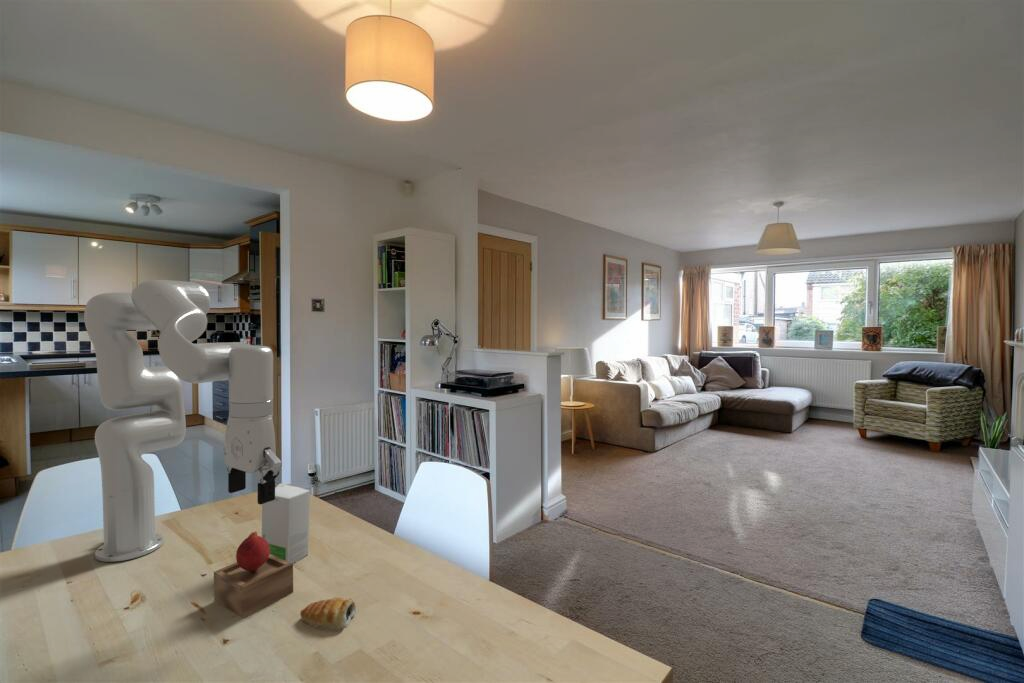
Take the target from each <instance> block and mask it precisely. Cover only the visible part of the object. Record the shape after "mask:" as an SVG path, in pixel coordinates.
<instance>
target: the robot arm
mask: <svg viewBox="0 0 1024 683" xmlns="http://www.w3.org/2000/svg"><path fill="white" fill-rule="evenodd" d="M211 304H212V300H211V296H210V294H209V291H208V290H207V289H206V288H205V287H204V286H203V285H201V284H199V283H197V282H193V281H184V280H183V281H182V280H171V279H169V280H168V279H147V280H145V281H142V282H140V283H139V284H137V285H136V286H135V287H134V288H133V289H132V291H131V292H106V293H100V294H97V295H94V296H92V297H91V298H90V299H88V301H87V302H86V305H85V309H84V313H83V314H84V315H83V320H84V326H85V329H86V332H87V334H88V337H89V339H90V341H91V344H92V346H93V348H94V351H95V359H96V361H95V362H96V372H97V380H98V388H99V389H98V390H99V391H98V392H99V396H100V397H99V399H100V401H101V404H102V405H103V407H104V408H105V409H107V410H111V411H126V410H134V409H140V408H147V407H153V408H154V411H149V412H147V411H146V412H143V413H133V414H127V415H121V416H117V417H114V418H110V419H107V420H105V421H103V422H102V423H100V425H98V427H97V428H96V430H95V433H94V444H95V447H96V452H97V454H98V459H99V464H100V471H101V472H100V473H101V490H102V491H101V493H102V522H103V524H102V525H103V526H102V527H103V544H102V545H101V546H99V547H98V548H97V549H96V550H95V552H94V554H95V557H94V558H95V559H96V560H98V561H99V562H106V563H114V562H123V561H129V560H132V559H136V558H140V557H143V556H145V555H148V554H150V553H152V552H154V551H156V550H157V549H159V548H160V547H161V546H163V544H164V536H163V535H162V534H160V533H157V532H156V517H155V516H156V514H155V513H156V511H155V510H156V509H155V508H156V506H155V476H154V475H155V474H154V470H153V468H152V466H151V465H150V464H149V463H148V462H146V461H145V460H144V459H143V457H142V455H144V454H149V453H152V452H157V451H161V450H166V449H170V448H173V447H176V446H179V445H180V444H181V443H182V442H184V439H185V437H186V433H187V425H186V424H187V423H186V412H185V400H184V399H185V398H184V389H183V383H182V381H183V382H185V383H190V384H204V383H205V384H206V383H212V382H220V381H228V419H227V422H226V428H225V438H224V447H223V453H224V456H223V457H224V460H223V461H224V463H225V465H226V466H227V467H226V472H227V473H228V474H227V475H228V476H227V477H228V478H227V481H228V482H227V483H228V484H227V485H228V487H227V490H228V493H230V494H234V493H237V492H241V491H243V490H245V489H246V487H247V486H246V485H247V482H246V481H247V480H246V476H247V474H246V473H248V474H253V473H256V475H257V478H258V480H259V482H258V483H257V504H258V505H262V504H264V503H267V502H270V501H273V500H274V499H275V488H276V481H277V480H278V476H279V475H280V470H281V466H282V464H283V463H282V461H281V459H280V458H279V457H278V456H277V455H276V454H277V453H276V452H277V451H276V433H275V425H274V420H273V417H274V352H273V350H272V348H271V347H269V346H267V345H260V344H259V345H258V344H257V345H254V344H253V345H252V344H249V343H247V342H241V341H237V342H236V341H233V342H224V341H223V342H204V343H200V342H199V343H193V342H195V340H197V339H198V338H200V337H201V336H202V335H203V334H204V332H205V331H206V329H207V325H208V318H207V314H208V313H209V312H210V309H211ZM155 330H156V331H157V330H158V331H159V332H160V334H159V337H158V340H157V341H158V343H157V344H158V352H159V356H160V358H161V361H162V362H163V364H164V365H165V366H163V365H161V366H160V365H159V366H145V363H144V353H143V351H144V350H143V348H142V346H141V345H140V343H139V342H138V341H137V340H136V339H135V337H134V336H132V335H131V333H129V332H128V331H155ZM265 471H267V472H266V473H265V474H264V472H265Z"/></svg>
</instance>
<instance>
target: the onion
mask: <svg viewBox="0 0 1024 683" xmlns="http://www.w3.org/2000/svg"><path fill="white" fill-rule="evenodd" d="M269 554H270V547H269V545H268V543H267V541H266V540H265V539H264V538H262V536H260V535H258V532H257V531H256V530H254V531H253V530H252V531H251V533H250V534H249V536H247V537H246V538H244V540H243V541H242V542H241V544H239V546H238V547H237V550H236V554H235V559H236V562H237V564H238V565H239V566H240V567H241V568H242V569H244V570H246V571H250V572H255V571H257V570H258V569H259V568H260V567H261V566H262V565H263V564H264V563H265V562H266V561H267V559H268V557H269Z"/></svg>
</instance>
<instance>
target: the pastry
mask: <svg viewBox="0 0 1024 683" xmlns="http://www.w3.org/2000/svg"><path fill="white" fill-rule="evenodd" d="M356 613H357V604H356V602H355V600H354V599H353V598H349V599H348V598H342V597H337V596H335V597H333V598H331V599H324V600H323V599H322V600H321V599H320V600H318V601H316V602H312V603H310V604H308V605H307V606H306V607H305V608H304V609H302V610H300V614H299V615H300V617H301V621H302V622H303V623H304V624H306V625H310V626H311V627H313V628H315V629H317V630H319V629H320V630H326V631H334V632H335V631H339V632H340V631H343V630H344V629H345V628H347V627H348V625H349V624H350V622H351V619H352V618H353V617H354V616H355V614H356Z"/></svg>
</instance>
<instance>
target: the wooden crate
mask: <svg viewBox="0 0 1024 683" xmlns="http://www.w3.org/2000/svg"><path fill="white" fill-rule="evenodd" d="M292 593H294V563H293V564H292V563H290V562H288V561H285V560H283V559H281V558H278V557H276V556H273V555H271V554H269V557H268V559H267V561H266V562H265V563H264V564H263V565H262V566H261V567H260V568H259V569H258V570H257V571H255V572H250V571H246V570H244V569H242V568H241V567H240V566H239V565H238V564H237V561H236V562H234V563H232V564H229V565H227V566H225V567H222V568H220V569H218V570H216V571H213V597H214V598H213V599H214V600H213V601H214V603H216V604H218V605H220V606H222V607H223V608H225V609H227V610H229V611H231V612H232V613H234V614H236V615H237V616H239V617H241V618H243V619H245V618H248V617H249V616H252V614H255V613H257V612H259V611H260V610H262V609H264V608H266V607H268V606H270V605H272V604H273V603H275V602H277V601H279V600H281V599H283V598H285V597H288V596H289V595H290V594H291V595H292Z"/></svg>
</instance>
